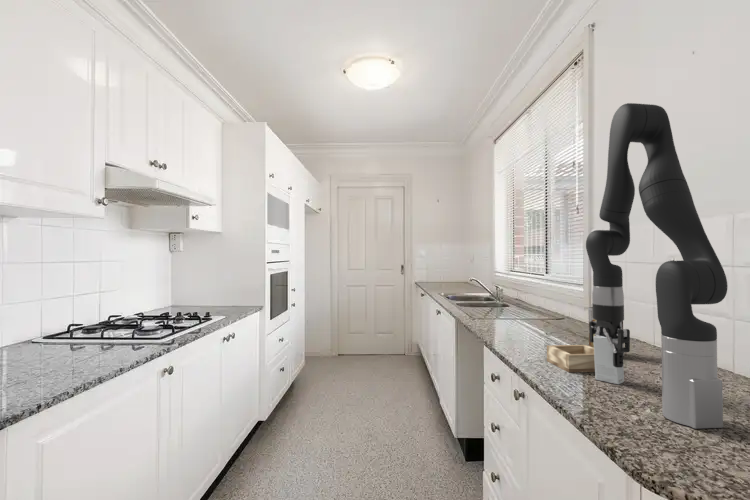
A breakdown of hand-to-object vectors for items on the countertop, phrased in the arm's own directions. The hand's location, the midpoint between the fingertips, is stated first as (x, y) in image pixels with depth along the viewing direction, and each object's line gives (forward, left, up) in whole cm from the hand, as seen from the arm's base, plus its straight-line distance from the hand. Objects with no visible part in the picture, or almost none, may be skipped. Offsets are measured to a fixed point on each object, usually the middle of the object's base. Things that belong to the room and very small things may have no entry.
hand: (608, 363), depth 110 cm
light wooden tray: (+15, 0, -5) cm, 16 cm away
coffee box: (+28, -18, -5) cm, 34 cm away
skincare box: (0, 0, -5) cm, 5 cm away
